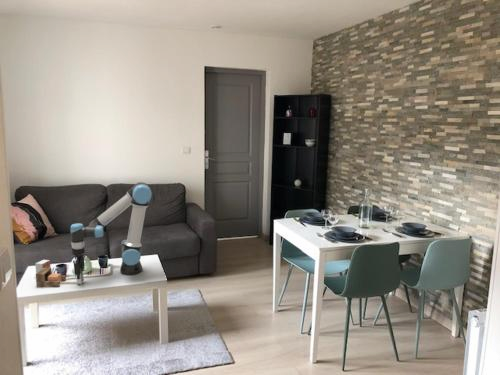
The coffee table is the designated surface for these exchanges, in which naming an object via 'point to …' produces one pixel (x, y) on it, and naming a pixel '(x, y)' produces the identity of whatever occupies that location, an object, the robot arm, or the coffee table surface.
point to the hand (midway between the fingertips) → (80, 282)
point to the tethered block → (58, 278)
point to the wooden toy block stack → (43, 278)
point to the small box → (42, 265)
